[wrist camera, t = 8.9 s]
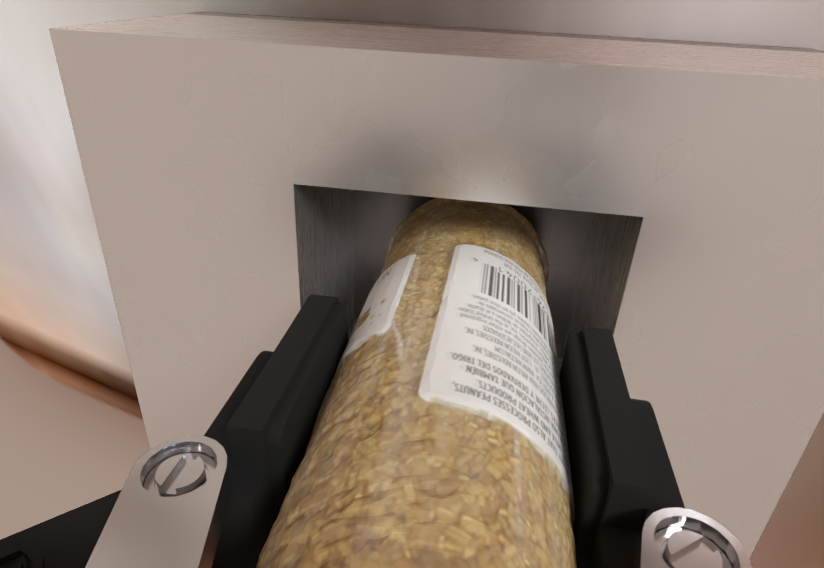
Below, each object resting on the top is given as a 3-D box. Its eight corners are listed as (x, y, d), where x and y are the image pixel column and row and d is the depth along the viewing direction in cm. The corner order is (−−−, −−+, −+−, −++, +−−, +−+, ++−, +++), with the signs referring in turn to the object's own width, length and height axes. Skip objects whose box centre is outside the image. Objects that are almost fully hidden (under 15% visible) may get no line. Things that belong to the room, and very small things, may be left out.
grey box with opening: (811, 48, 14) (988, 90, 9) (680, 418, 20) (741, 574, 15) (200, 11, 16) (49, 28, 11) (243, 360, 22) (158, 481, 16)
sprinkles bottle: (361, 223, 16) (-61, 905, 4) (517, 162, 14) (529, 954, 3) (427, 351, 18) (257, 1090, 6) (573, 309, 16) (727, 1180, 4)
